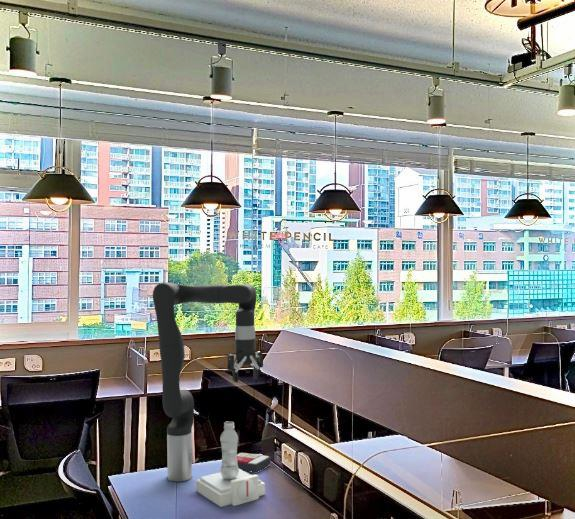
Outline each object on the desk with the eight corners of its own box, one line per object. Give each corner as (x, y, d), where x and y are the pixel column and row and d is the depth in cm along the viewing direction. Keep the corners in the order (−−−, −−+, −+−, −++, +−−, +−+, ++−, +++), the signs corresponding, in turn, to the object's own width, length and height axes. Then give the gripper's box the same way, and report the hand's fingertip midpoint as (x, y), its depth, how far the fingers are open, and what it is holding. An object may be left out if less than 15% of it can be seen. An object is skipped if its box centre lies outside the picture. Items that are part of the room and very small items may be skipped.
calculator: (240, 451, 250) (270, 455, 243) (241, 462, 250) (271, 465, 243) (225, 459, 241) (256, 463, 233) (225, 470, 241) (256, 474, 233)
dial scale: (196, 490, 216) (196, 468, 216) (239, 479, 226) (238, 458, 226) (224, 509, 199) (224, 485, 199) (269, 497, 209) (269, 474, 209)
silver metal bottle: (241, 476, 216) (241, 421, 216) (234, 482, 209) (233, 425, 210) (225, 474, 218) (224, 419, 218) (217, 481, 211) (216, 424, 212)
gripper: (255, 335, 231) (256, 377, 231) (223, 338, 223) (224, 381, 223) (266, 336, 225) (267, 379, 225) (233, 340, 217) (234, 384, 217)
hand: (245, 380), depth 224 cm, fingers open, 8 cm apart
